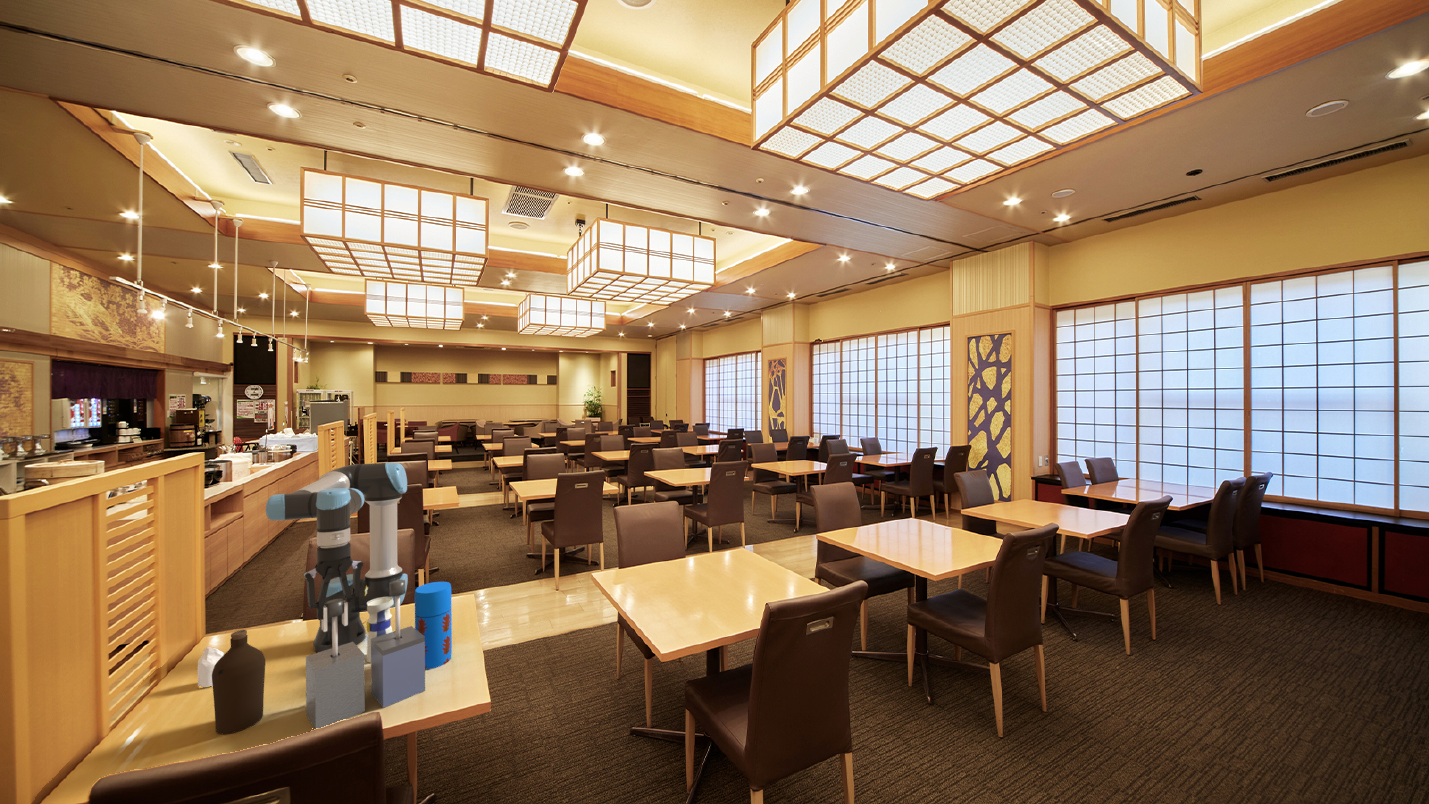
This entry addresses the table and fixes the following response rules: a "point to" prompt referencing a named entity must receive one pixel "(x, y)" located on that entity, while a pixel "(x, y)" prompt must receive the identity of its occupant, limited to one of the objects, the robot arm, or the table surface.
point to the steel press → (334, 685)
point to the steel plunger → (334, 621)
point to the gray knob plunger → (397, 602)
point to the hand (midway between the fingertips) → (334, 626)
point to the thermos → (434, 622)
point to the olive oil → (238, 686)
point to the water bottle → (378, 619)
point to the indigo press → (397, 666)
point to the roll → (207, 666)
